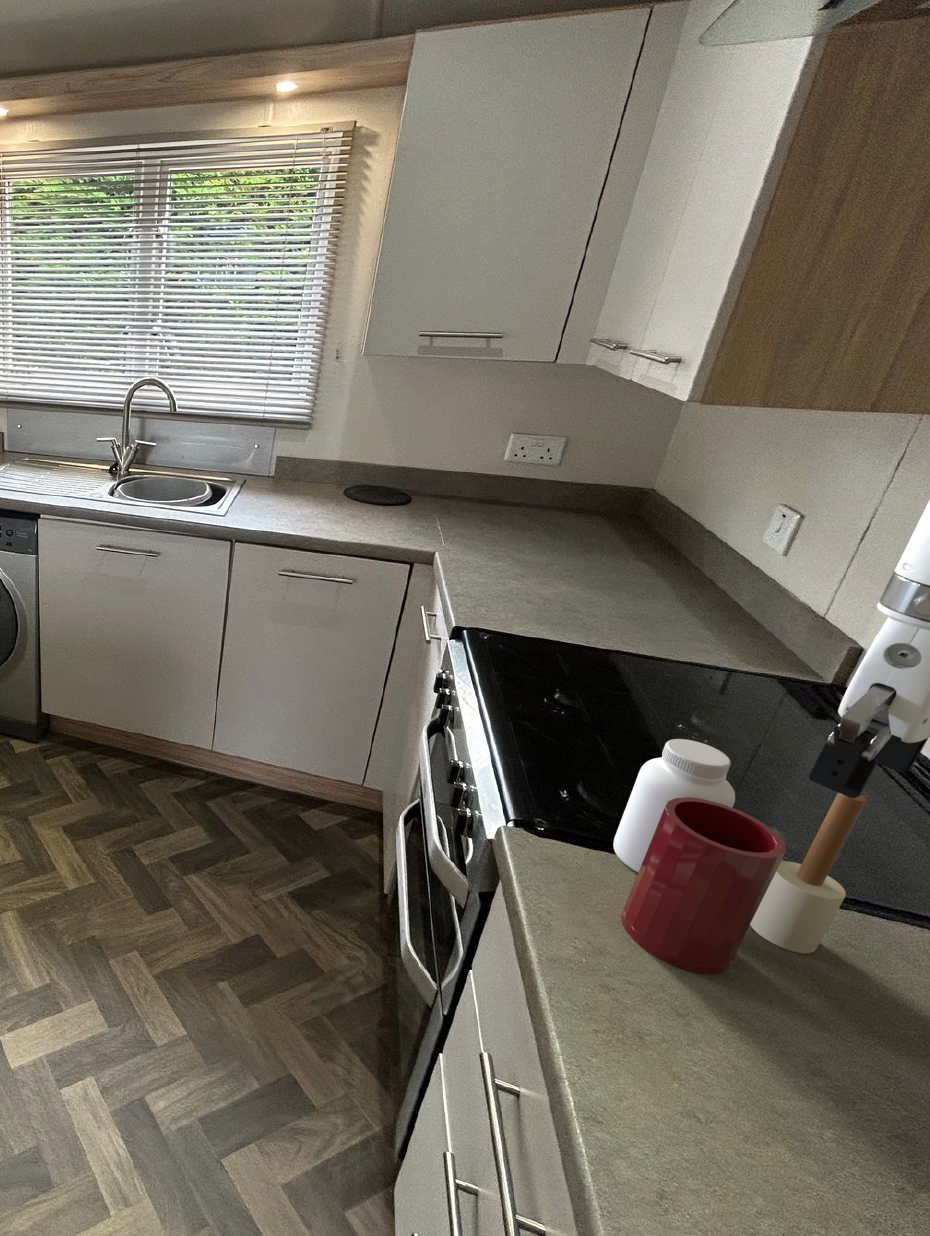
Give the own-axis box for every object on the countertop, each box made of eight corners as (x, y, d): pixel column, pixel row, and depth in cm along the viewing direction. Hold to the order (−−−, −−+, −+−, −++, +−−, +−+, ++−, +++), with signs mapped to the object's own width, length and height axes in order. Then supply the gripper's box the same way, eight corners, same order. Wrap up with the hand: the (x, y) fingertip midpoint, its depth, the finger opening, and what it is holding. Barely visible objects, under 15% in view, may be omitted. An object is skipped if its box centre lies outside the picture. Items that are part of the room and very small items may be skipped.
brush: (763, 907, 75) (830, 773, 69) (826, 943, 71) (903, 804, 65) (737, 922, 73) (803, 786, 67) (800, 960, 69) (878, 818, 63)
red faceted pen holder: (650, 896, 76) (695, 788, 71) (747, 956, 69) (805, 842, 64) (602, 920, 73) (646, 809, 68) (699, 986, 66) (756, 868, 61)
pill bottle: (594, 846, 84) (634, 737, 78) (642, 832, 86) (685, 726, 80) (666, 895, 76) (716, 780, 71) (717, 879, 79) (769, 766, 73)
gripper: (976, 639, 52) (870, 825, 59) (1061, 607, 59) (958, 778, 65) (839, 602, 59) (757, 774, 65) (930, 577, 65) (847, 735, 72)
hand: (858, 776), depth 65 cm, fingers open, 9 cm apart
